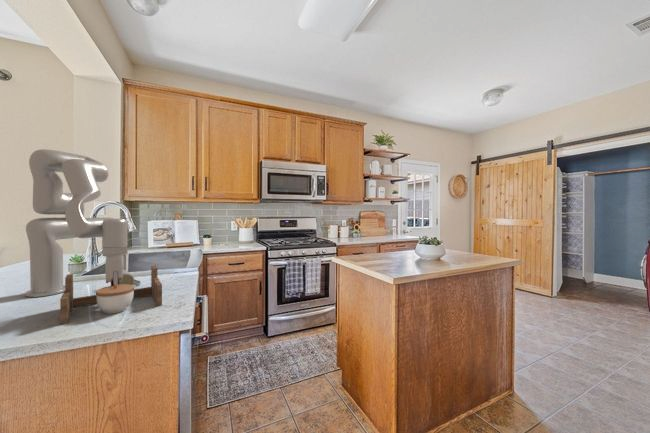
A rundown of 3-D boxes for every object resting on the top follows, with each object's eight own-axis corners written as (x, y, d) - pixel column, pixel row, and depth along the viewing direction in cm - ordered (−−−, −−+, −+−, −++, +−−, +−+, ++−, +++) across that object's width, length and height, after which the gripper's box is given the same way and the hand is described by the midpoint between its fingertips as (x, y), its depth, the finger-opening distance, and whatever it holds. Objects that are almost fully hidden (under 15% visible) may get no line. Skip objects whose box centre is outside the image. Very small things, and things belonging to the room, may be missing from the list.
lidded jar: (113, 317, 87) (113, 289, 87) (87, 314, 89) (87, 287, 89) (141, 306, 98) (141, 281, 97) (118, 303, 100) (118, 279, 99)
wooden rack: (67, 307, 95) (67, 274, 95) (155, 293, 112) (155, 265, 112) (60, 324, 81) (60, 286, 81) (161, 305, 99) (161, 273, 98)
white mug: (115, 291, 114) (116, 273, 114) (109, 287, 119) (109, 270, 119) (143, 286, 123) (144, 269, 122) (136, 283, 127) (137, 267, 127)
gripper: (102, 249, 103) (102, 295, 104) (101, 254, 92) (102, 306, 92) (126, 247, 108) (126, 292, 108) (128, 252, 96) (128, 302, 97)
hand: (115, 298), depth 100 cm, fingers closed
